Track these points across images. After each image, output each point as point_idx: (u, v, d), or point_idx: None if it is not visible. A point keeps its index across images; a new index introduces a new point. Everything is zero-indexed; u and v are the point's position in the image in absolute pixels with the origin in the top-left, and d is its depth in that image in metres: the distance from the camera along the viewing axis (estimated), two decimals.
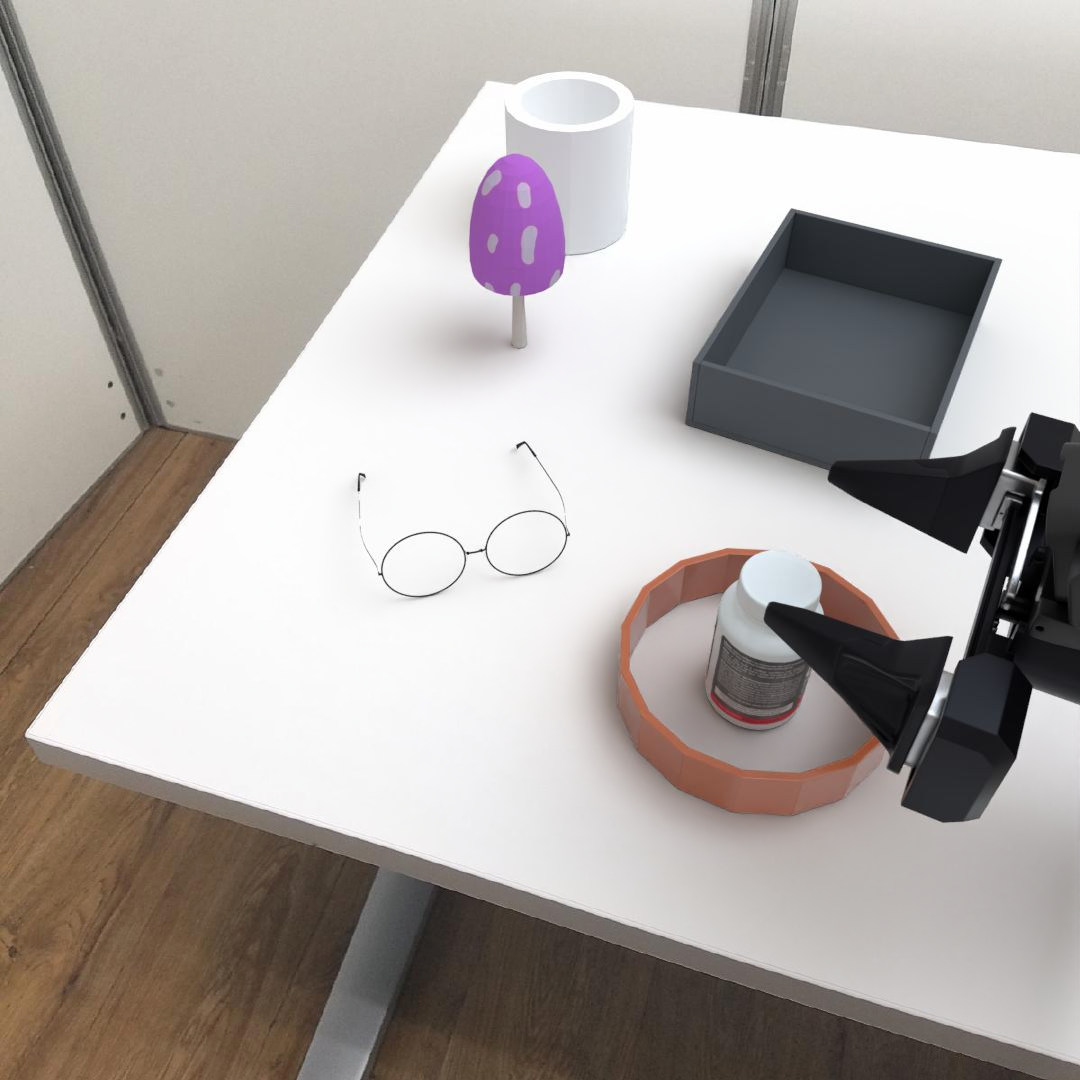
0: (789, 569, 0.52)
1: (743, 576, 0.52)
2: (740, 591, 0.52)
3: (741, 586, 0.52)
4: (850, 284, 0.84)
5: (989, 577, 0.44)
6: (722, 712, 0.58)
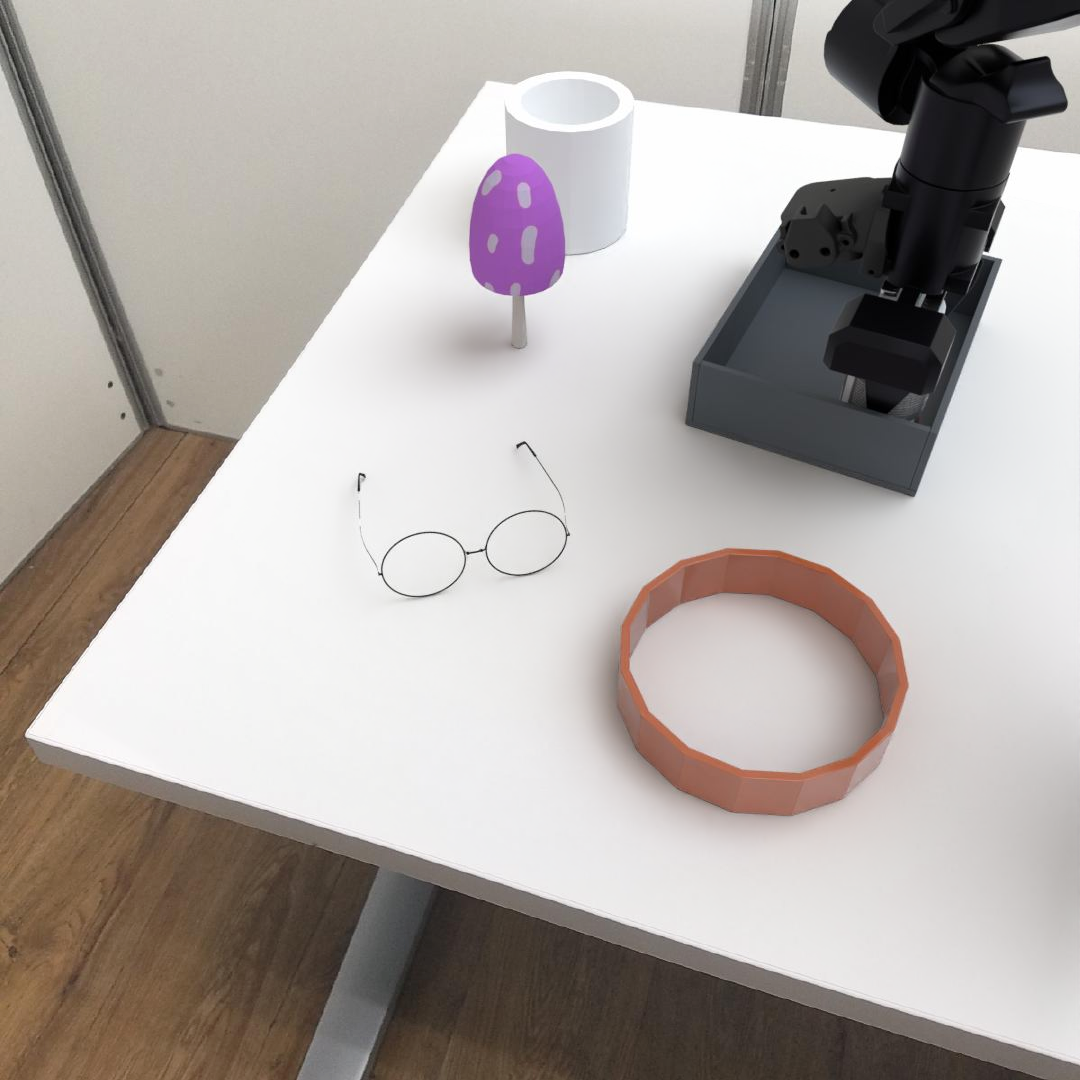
0: None
1: None
2: None
3: None
4: (850, 284, 0.84)
5: None
6: None
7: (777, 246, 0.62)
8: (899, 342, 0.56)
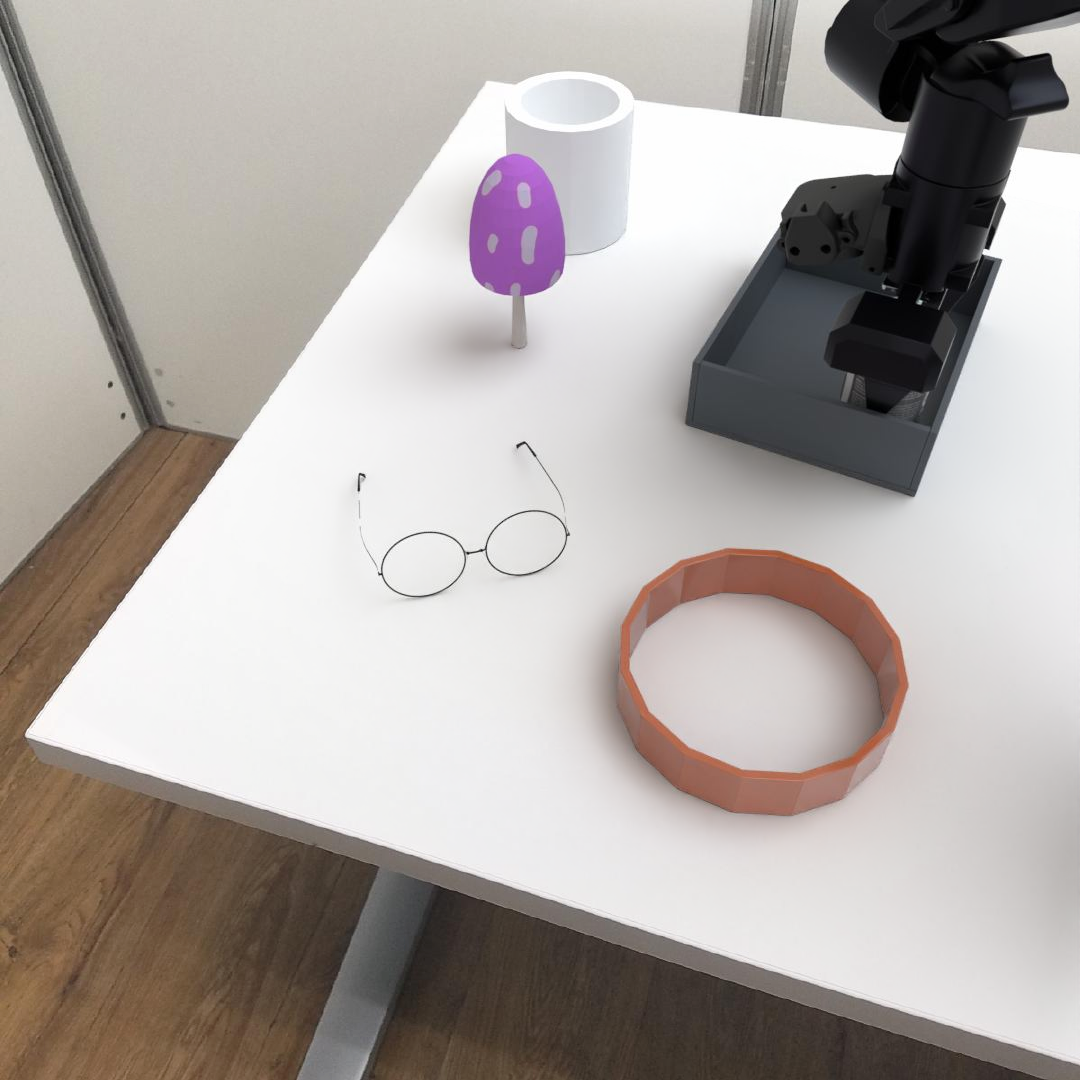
0: None
1: None
2: None
3: None
4: (850, 284, 0.84)
5: None
6: None
7: (777, 243, 0.62)
8: (900, 340, 0.56)
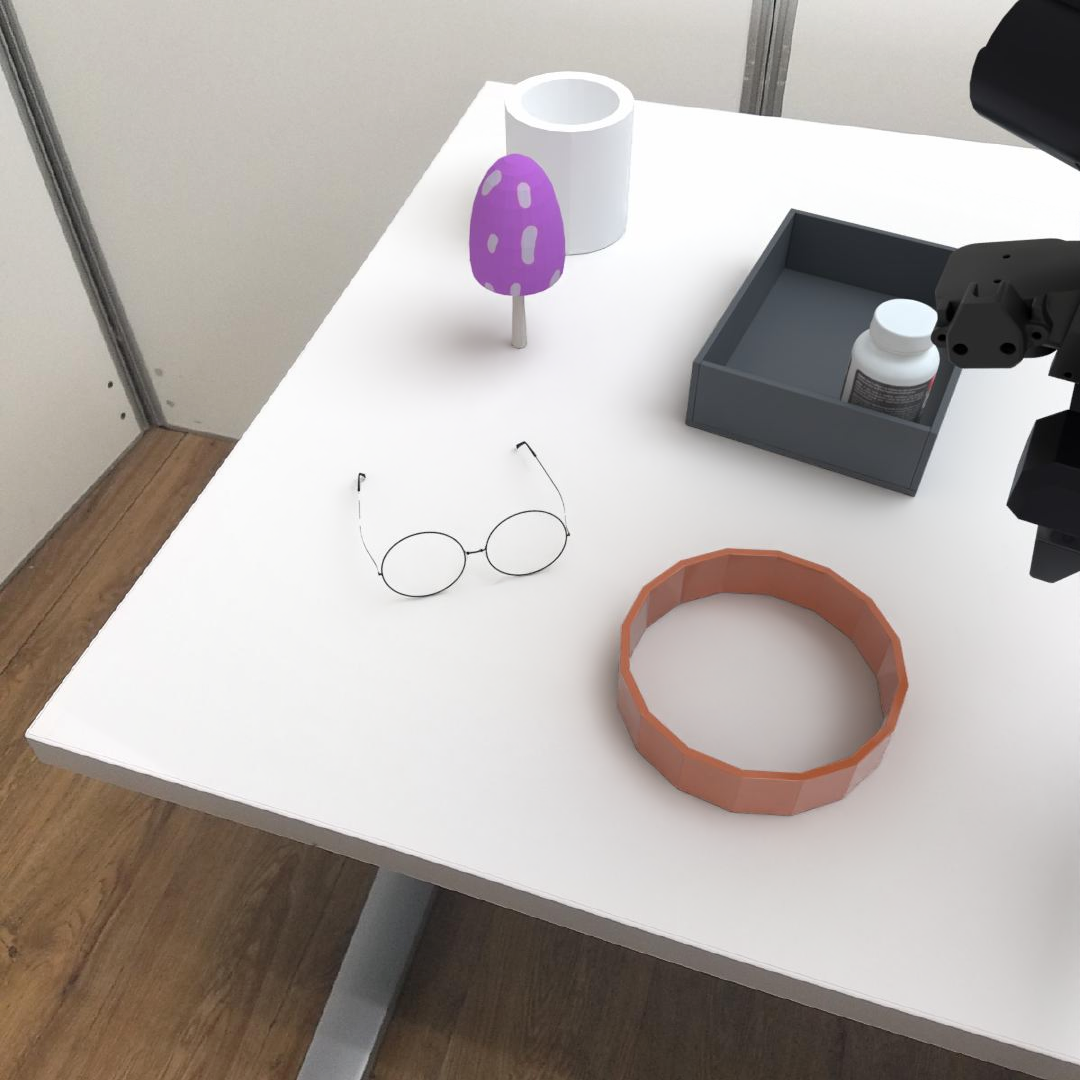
0: (913, 311, 0.66)
1: (877, 315, 0.65)
2: (874, 327, 0.65)
3: (875, 323, 0.65)
4: (850, 284, 0.84)
5: None
6: None
7: (932, 336, 0.45)
8: None
